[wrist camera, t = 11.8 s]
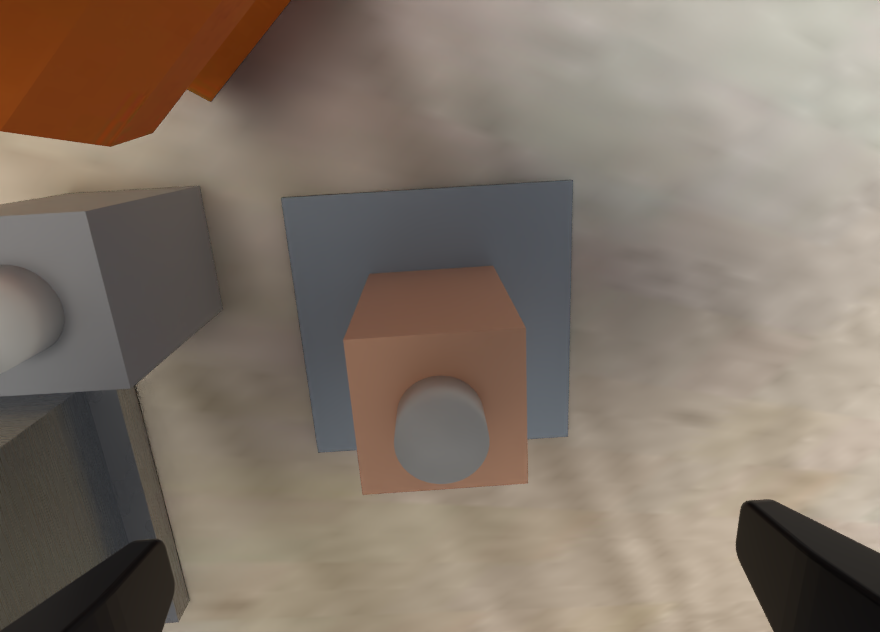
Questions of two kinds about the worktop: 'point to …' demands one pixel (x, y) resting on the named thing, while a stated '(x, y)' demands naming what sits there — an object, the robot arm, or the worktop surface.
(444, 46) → the worktop surface
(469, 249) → the mat
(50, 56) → the alarm clock
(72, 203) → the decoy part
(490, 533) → the worktop surface
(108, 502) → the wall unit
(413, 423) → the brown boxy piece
